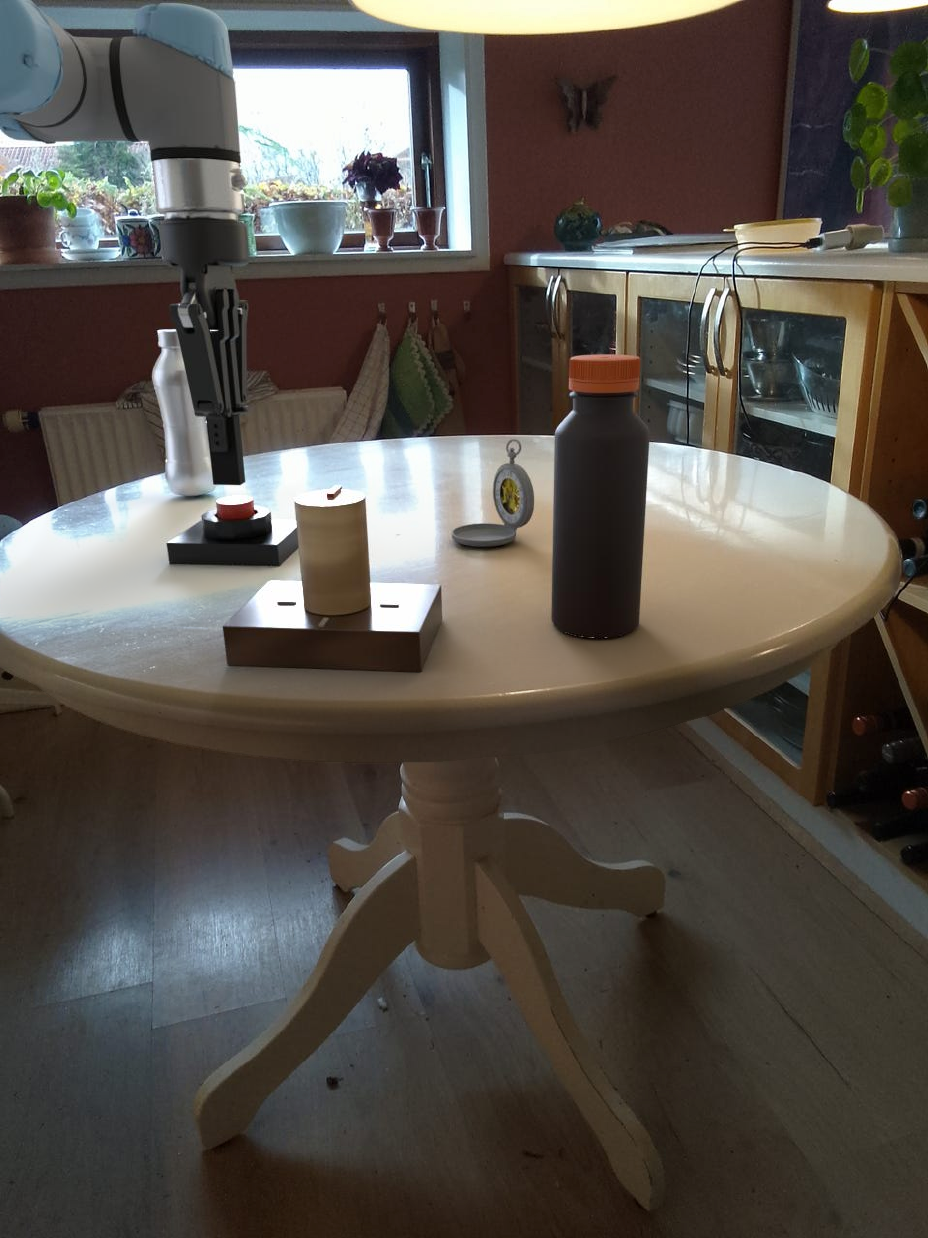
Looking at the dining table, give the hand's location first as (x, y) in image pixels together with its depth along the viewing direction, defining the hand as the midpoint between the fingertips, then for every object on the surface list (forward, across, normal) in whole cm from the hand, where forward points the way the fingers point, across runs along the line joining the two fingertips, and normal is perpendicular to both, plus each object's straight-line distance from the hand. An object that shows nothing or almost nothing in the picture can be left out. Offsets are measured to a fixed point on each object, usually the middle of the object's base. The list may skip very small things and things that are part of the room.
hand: (229, 483), depth 87 cm
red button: (+3, 0, 0) cm, 3 cm away
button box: (+7, 0, 0) cm, 7 cm away
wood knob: (+4, -22, -16) cm, 28 cm away
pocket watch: (+7, +6, -25) cm, 27 cm away
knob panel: (+7, -22, -16) cm, 28 cm away
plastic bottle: (+7, +24, +15) cm, 29 cm away
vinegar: (+7, -17, -35) cm, 40 cm away
